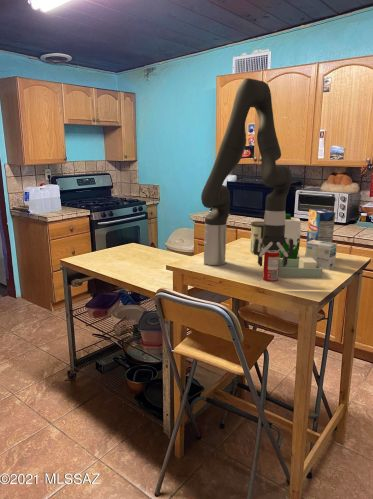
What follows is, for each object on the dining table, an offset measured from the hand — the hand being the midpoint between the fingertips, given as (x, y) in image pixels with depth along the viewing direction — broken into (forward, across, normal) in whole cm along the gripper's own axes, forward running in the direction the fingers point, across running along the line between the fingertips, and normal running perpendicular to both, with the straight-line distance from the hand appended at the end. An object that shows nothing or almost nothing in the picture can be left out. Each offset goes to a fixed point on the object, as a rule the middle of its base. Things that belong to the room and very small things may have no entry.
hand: (272, 265), depth 144 cm
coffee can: (+6, +3, +43) cm, 44 cm away
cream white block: (+5, +16, +10) cm, 20 cm away
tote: (+6, +11, +10) cm, 16 cm away
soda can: (+6, 0, 0) cm, 6 cm away
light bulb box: (+6, +24, +19) cm, 31 cm away
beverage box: (+6, +27, +32) cm, 42 cm away
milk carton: (+6, +14, +33) cm, 36 cm away
